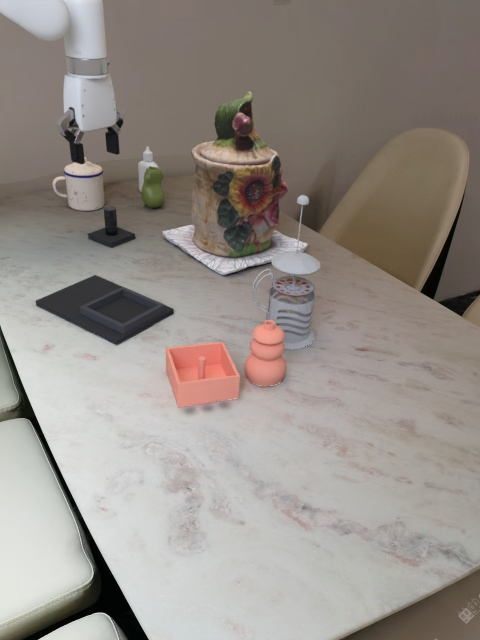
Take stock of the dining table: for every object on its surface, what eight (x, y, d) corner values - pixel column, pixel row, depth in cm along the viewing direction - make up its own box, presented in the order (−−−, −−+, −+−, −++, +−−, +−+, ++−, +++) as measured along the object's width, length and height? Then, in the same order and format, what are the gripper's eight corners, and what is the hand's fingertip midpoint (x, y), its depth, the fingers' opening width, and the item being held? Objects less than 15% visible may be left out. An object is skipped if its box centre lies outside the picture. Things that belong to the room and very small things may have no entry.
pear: (156, 202, 154) (155, 162, 148) (168, 208, 151) (168, 168, 145) (138, 205, 150) (136, 166, 145) (149, 212, 147) (148, 172, 142)
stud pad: (88, 238, 132) (85, 208, 128) (112, 229, 137) (110, 200, 133) (111, 248, 129) (109, 216, 125) (135, 238, 134) (133, 208, 130)
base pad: (35, 305, 106) (33, 293, 105) (95, 279, 116) (94, 267, 115) (117, 345, 98) (116, 332, 96) (173, 313, 108) (173, 301, 106)
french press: (321, 349, 102) (342, 207, 88) (254, 350, 100) (265, 206, 86) (308, 319, 110) (326, 185, 96) (246, 320, 108) (255, 183, 94)
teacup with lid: (102, 197, 153) (98, 151, 146) (108, 210, 146) (105, 162, 140) (53, 200, 149) (47, 153, 142) (57, 213, 142) (51, 164, 135)
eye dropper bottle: (153, 188, 162) (152, 143, 155) (160, 195, 158) (159, 149, 151) (138, 190, 160) (136, 144, 153) (144, 197, 156) (142, 150, 149)
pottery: (177, 407, 86) (177, 350, 80) (166, 370, 93) (165, 315, 88) (294, 391, 91) (301, 337, 86) (274, 357, 99) (280, 305, 93)
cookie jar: (157, 237, 135) (153, 85, 117) (241, 218, 149) (249, 79, 131) (224, 280, 120) (232, 112, 103) (310, 253, 135) (330, 102, 117)
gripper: (106, 60, 121) (113, 146, 131) (37, 68, 109) (50, 162, 119) (134, 65, 118) (138, 153, 128) (66, 74, 106) (76, 171, 116)
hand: (96, 157), depth 123 cm, fingers open, 9 cm apart
